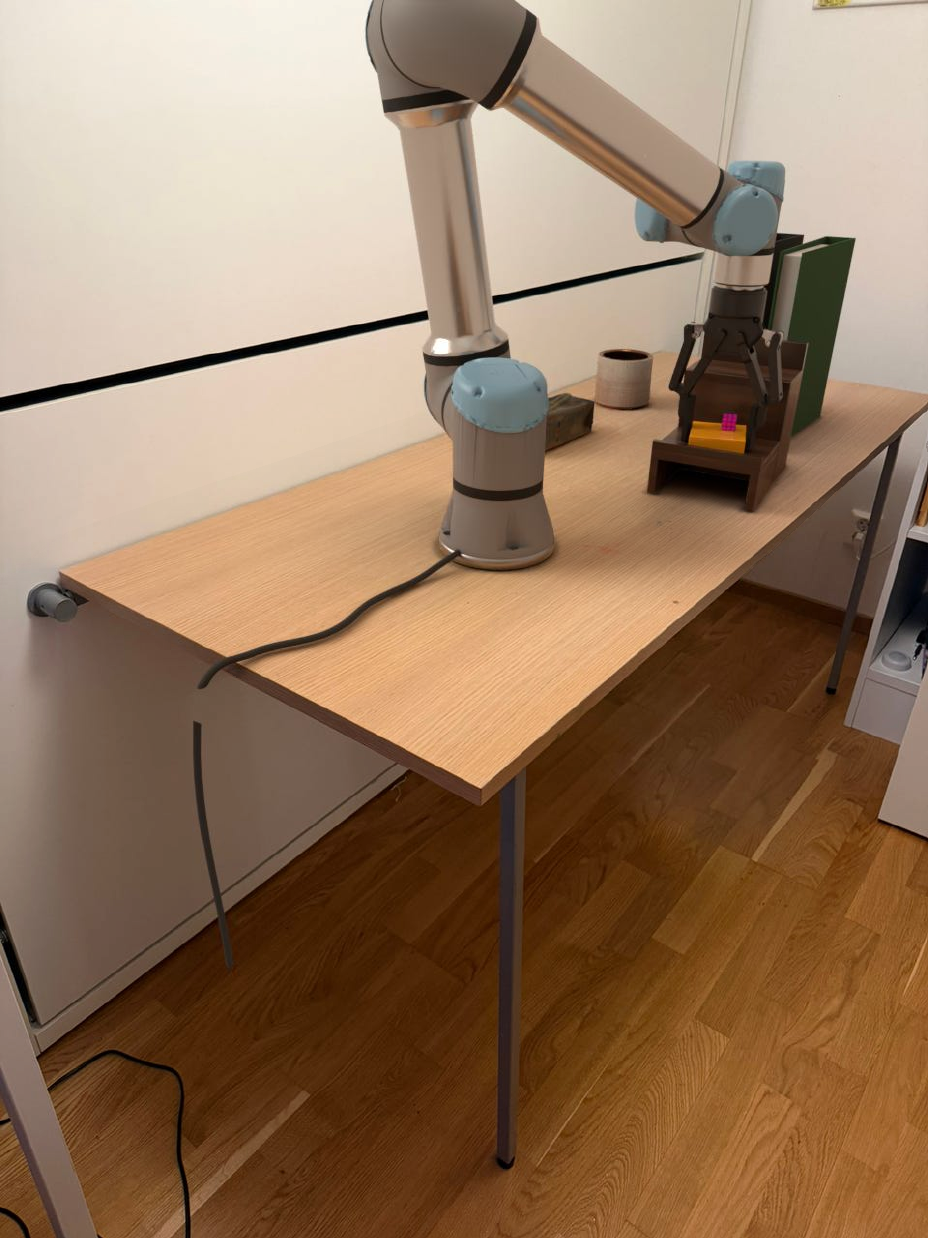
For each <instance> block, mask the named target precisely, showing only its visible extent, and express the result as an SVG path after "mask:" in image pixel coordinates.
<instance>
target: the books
mask: <svg viewBox="0 0 928 1238" xmlns="http://www.w3.org/2000/svg"><path fill="white" fill-rule="evenodd" d="M804 239H805V234H799V233H784V232H777V235H776V241H775V247H774V252H773V253H774V254H773V260H772V266H771V273H770V279H769V283H768V284H767V285H765V286H764V288H766V290H767V297H766V304H765V310H764V316H763V324H764V327H765V329H767V330H772V331H776V332H777V331H779V330H781V331H783V332H784V338H783V340H789V341H798V342H808V348H807V354H806V359H805V364H804V370H803V375H802V380H801V386H800V391H799V396H798V402H797V407H796V412H795V417H794V423H793V428H792V433H791V438H792V437H794V436H795V435H797V434H798V433H799V432H801V431H802V430H804V429H806V427H808V426H810V425H811V424H812V423H814V422H815V421H816V420H818V419H820V418H821V414H822V410H823V409H822V408H823V404H824V400H825V394H826V389H827V384H828V379H829V375H830V374H829V373H830V368H831V364H832V359H833V353H834V350H835V349H834V348H835V344H836V339H837V334H838V329H839V324H840V319H841V316H842V315H841V314H842V309H843V304H844V300H845V294H846V289H847V284H848V279H849V274H850V270H851V263H852V259H853V255H854V251H855V250H854V249H855V245H856V237H848V236H846V237H845V236H831V235H825V236H822V237H819V238H815V239H813V240H810V241H807V242H804ZM761 338H763V337H761Z"/></svg>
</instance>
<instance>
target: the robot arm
mask: <svg viewBox="0 0 928 1238" xmlns="http://www.w3.org/2000/svg"><path fill="white" fill-rule="evenodd" d="M364 34H365V35H364V39H365V47H366V51H367V55H368V56H369V61H370V63H371V65H372V67H373V69H374V71H375V72H376V74H377V80H378V87H379V93H380V99H381V105H382V111H383V116H384V117H385V118H386V119H387V120H388V121H389V122H391V123H392V124H393V125H394V126H395V127H397V130H398V131H399V137H400V142H401V148H402V155H403V162H404V168H405V174H406V175H405V176H406V182H407V187H408V188H407V189H408V195H409V202H410V206H411V212H412V220H413V226H414V232H415V238H416V246H417V251H418V252H417V253H418V257H419V265H420V270H421V277H422V283H423V290H424V295H425V296H424V297H425V303H426V309H427V315H428V322H429V328H430V329H429V330H430V333H429V336H428V337H427V339H426V340H425V342H424V343H423V344H422V346H421V351H422V357H423V362H424V369H425V374H424V378H423V396H424V401H425V404H426V407H427V409H428V412H429V413H430V415H431V416H432V417H433V419H434V420H435V421H436V423H437V424H439V426H440V427H441V428H442V430H443V431H444V432H445V433H446V434H447V437H449V438H450V440H451V442H452V491H451V495H450V499H449V501H448V504H447V507H446V510H445V513H444V516H443V518H442V521H441V525H440V527H439V533H438V535H439V536H438V544H439V545H438V546H439V550H440V552H441V553H442V554H443V555H444V556H445V557H443V558H442V559H440V560H439V561H437V562H436V563H434V564H433V565H431V566H430V567H429V568H427V569H426V570H425V571H423V572H421V573H420V574H418V575H417V576H415V577H413V578H411V579H409V580H406V581H405V582H402V583H400V584H398V585H395V586H393V587H391V588H389V589H386V590H384V591H382V592H380V593H378V594H375V595H374V596H373V597H370V598H369V599H368V600H366V601H365V602H363V603H362V604H360V605H359V606H358V607H357V608H355V609H354V610H353V611H352V612H351V613H350V614H349V615H347V616H346V617H345V618H344V619H343V620H341V621H340V622H338V623H336V624H335V625H333V626H331V627H329V628H326V629H324V630H322V631H319V632H316V633H312V634H309V635H305V636H301V637H296V638H291V639H285V640H281V641H275V642H271V643H268V644H264V645H261V646H258V647H254V648H252V649H249V650H246V651H244V652H240V653H237V654H233V655H229V656H226V657H224V658H222V659H220V660H218V661H216V662H214V664H213V665H212V666H210V668H208V669H207V671H205V673H204V675H203V676H202V678H200V680H199V682H198V684H197V687H196V689H198V690H203V689H206V688H207V687H208V685H209V683H210V682H211V681H212V679H213V678H214V676H216V675H217V673H219V672H220V671H221V670H223V668H226V667H227V666H230V665H232V664H236V663H239V662H242V661H246V660H250V659H252V658H255V657H258V656H261V655H263V654H266V653H270V652H273V651H274V652H275V651H277V650H282V649H286V648H291V647H296V646H301V645H307V644H311V643H314V642H318V641H321V640H323V639H326V638H328V637H331V636H333V635H336V634H337V633H339V632H341V631H342V630H344V629H346V628H347V627H348V626H350V625H351V624H352V623H353V622H354V621H355V620H357V619H358V618H359V617H360V616H361V615H362V614H363V613H365V612H366V611H367V610H369V609H370V608H371V607H373V606H374V605H377V603H379V602H382V601H383V600H385V599H387V598H389V597H391V596H394V595H396V594H398V593H401V592H402V591H405V590H408V589H409V588H411V587H414V586H416V585H417V584H419V583H421V582H423V581H424V580H427V579H428V578H429V577H430V576H432V575H433V574H435V573H437V571H439V570H440V569H442V568H443V567H445V566H446V565H448V563H451V562H452V561H453V562H455V563H457V564H459V565H462V566H465V567H470V568H475V569H482V570H492V571H504V570H516V569H517V570H518V569H522V568H527V567H531V566H533V565H537V564H539V563H541V562H543V561H545V560H547V559H548V558H549V557H550V556H551V555H552V554H553V552H554V549H555V531H554V527H553V524H552V520H551V517H550V513H549V510H548V506H547V503H546V499H545V495H544V476H545V474H544V473H545V459H546V450H545V443H546V425H547V412H548V408H549V401H548V399H549V398H550V397H549V395H548V382H547V378H546V376H545V375H544V373H543V372H542V371H541V370H540V369H539V368H538V367H536V366H534V365H532V364H530V363H528V362H525V361H523V362H520V360H518V359H514V358H512V357H511V351H510V350H511V349H510V343H509V342H510V340H509V334H508V333H507V332H506V331H505V330H504V329H503V328H502V327H500V326H499V325H498V324H497V323H496V318H495V311H494V303H493V302H494V301H493V295H492V286H491V285H492V284H491V277H490V270H489V260H488V251H487V244H486V235H485V228H484V219H483V218H484V217H483V211H482V202H481V193H480V185H479V177H478V169H477V161H476V160H477V159H476V152H475V144H474V137H473V136H474V134H473V127H472V117H473V114H474V113H475V111H476V109H477V108H478V106H479V105H480V106H481V107H483V108H484V109H486V110H487V111H489V112H493V111H496V110H499V109H504V110H505V111H507V112H508V113H510V114H512V115H513V116H515V117H516V118H518V120H521V121H522V122H524V123H525V124H527V126H529V127H531V128H532V129H534V130H535V131H537V132H539V134H541V135H542V136H544V137H546V138H547V139H548V140H550V141H552V142H553V143H554V144H556V145H558V146H559V147H561V148H562V149H564V150H565V151H566V152H568V153H570V154H571V155H573V156H574V157H575V158H577V159H578V160H580V161H581V162H583V163H584V164H586V165H587V166H589V167H590V168H592V169H593V170H595V171H596V172H597V173H599V174H601V175H602V176H603V177H605V178H606V179H608V180H610V182H613V184H615V185H617V186H619V187H620V188H621V189H623V190H624V191H626V192H628V193H629V194H630V195H632V196H633V197H635V198H636V201H635V205H634V206H635V207H634V225H635V229H636V232H637V234H638V236H639V238H640V239H641V240H643V241H645V242H654V243H655V242H656V243H660V244H664V243H666V242H667V243H669V242H670V243H671V242H672V243H673V242H674V243H681V244H685V245H689V246H693V247H696V248H702V249H706V250H709V251H713V252H716V253H715V261H714V268H713V275H712V281H713V282H714V283H715V284H716V285H714V286H713V287H712V288H711V289H710V290H711V291H710V292H711V293H710V298H709V305H708V315H707V318H706V319H705V321H704V322H695V321H690V322H689V323H686V324H685V325H684V326H683V342H682V345H681V348H680V350H679V354H678V357H677V359H676V362H675V365H674V368H673V371H672V374H671V377H670V379H669V380H670V381H669V382H668V386H667V387H668V388H667V389H668V390H669V391H670V392H675V393H676V394H678V396H679V399H678V407H677V416H678V418H679V417H683V418H684V419H683V427H682V435H681V441H687V440H688V439H689V436H690V432H691V428H692V423H693V416H694V408H695V401H696V395H695V394H691V392H692V391H693V388H694V387H695V385H696V384H697V382H698V381H699V379H700V378H701V376H702V375H703V373H704V372H705V370H706V369H707V367H708V366H709V364H710V363H711V361H712V359H713V358H714V357H715V355H716V354H717V353H718V354H722V355H724V354H730V355H733V356H741V359H742V362H743V363H744V365H745V368H746V371H747V374H748V377H749V381H750V384H751V387H752V390H753V393H754V396H755V399H756V403H755V404H754V405H753V406H752V407H751V411H750V417H749V423H748V429H747V435H746V443H745V449H744V451H750V450H751V449H752V448H753V446H754V440H755V434H756V428H758V429H761V428H762V427H763V425H764V424H765V419H766V413H767V407H768V406H769V405H776V404H778V403H779V402H780V401H781V400H782V398H783V390H782V370H781V349H780V347H781V344H782V341H783V338H784V332H783V331H781V330H779V331H777V332H776V331H772V330H767V329H765V327H764V324H763V316H764V310H765V304H766V297H767V290H766V288H764V286H765V285H767V284H768V283H769V279H770V273H771V266H772V260H773V254H774V253H773V252H774V247H775V241H776V235H777V233H778V229H779V228H778V227H779V224H780V223H779V222H780V216H781V210H782V205H783V202H784V199H785V198H784V194H785V193H784V192H785V184H786V168H785V165H784V164H783V163H782V162H780V161H775V160H774V161H773V160H733V161H731V162H730V163H729V164H728V165H727V169H726V170H725V169H723V168H722V167H720V166H719V165H717V163H716V162H714V161H713V160H711V159H710V158H709V157H707V156H706V155H704V153H702V152H700V151H699V150H697V149H696V147H694V146H692V145H691V144H690V143H688V142H687V141H685V140H684V139H682V138H681V137H680V136H679V135H678V134H676V133H675V132H673V131H672V130H671V129H669V128H668V127H667V126H665V125H664V124H663V123H661V122H660V121H659V120H657V119H656V118H655V117H653V116H652V115H651V114H649V113H648V112H646V111H645V110H643V109H642V108H641V107H640V106H638V105H637V104H636V103H634V102H633V101H632V100H630V99H629V98H628V97H626V96H625V95H624V94H622V92H619V91H618V90H617V89H616V88H614V87H613V86H611V85H610V84H609V83H607V81H605V80H603V78H601V77H599V76H598V75H597V74H596V73H594V72H592V71H591V70H590V69H589V68H588V67H586V66H584V65H583V64H581V62H579V61H578V60H577V59H575V58H574V57H572V56H571V55H569V54H568V53H567V52H565V51H564V50H563V49H562V48H560V47H559V46H558V45H556V44H555V43H553V41H551V40H550V39H548V38H547V37H545V36H544V35H543V34H542V29H541V23H540V19H539V17H537V15H536V14H534V13H533V12H532V11H530V10H528V9H527V8H526V7H524V6H523V5H521V3H519V2H518V1H517V0H371V1H370V5H369V7H368V11H367V16H366V20H365V27H364ZM702 332H703V334H704V333H705V335H706V337H707V339H708V340H709V342H710V345H709V346H708V348H707V349H706V351H705V352H704V354H703V356H702V358H701V357H700V358H699V360H700V361H699V362H698V364H697V365H696V367H695V368H694V370H693V372H692V373H691V375H690V376H689V378H688V379H687V381H686V382H685V384H683V381H684V374H685V371H686V369H687V368H688V365H689V363H690V359H691V357H692V354H693V351H694V348H695V346H696V343H697V339H699V338H700V337H701V334H702ZM761 337H763V338H764V339H765V345H766V346H767V347H769V349H768V364H769V382H770V395H768V393H767V390H766V387H765V383H764V380H763V377H762V374H761V371H760V367H759V364H758V361H757V358H756V351H755V348H754V345H755V344H756V343H757V341H758V340H759V339H760V338H761ZM690 394H691V395H690ZM202 726H203V725H202V723H201V722H198V721H195V720H192V760H193V780H194V790H195V791H194V792H195V802H196V809H197V816H198V817H197V818H198V825H199V829H200V837H201V843H202V847H203V852H204V853H203V854H204V858H205V862H206V863H205V864H206V866H207V867H206V868H207V872H208V877H209V881H210V887H211V891H212V896H213V900H214V905H215V910H216V915H217V921H218V925H219V930H220V936H221V940H222V941H221V942H222V946H223V953H224V959H225V966H226V968H227V969H232V968H234V960H233V954H232V953H233V952H232V947H231V946H232V945H231V941H230V934H229V928H228V924H227V919H226V913H225V909H224V904H223V899H222V894H221V889H220V883H219V879H218V875H217V869H216V864H215V860H214V855H213V850H212V844H211V838H210V832H209V825H208V819H207V812H206V803H205V795H204V794H205V793H204V783H203V764H202V763H203V761H202Z"/></svg>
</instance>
